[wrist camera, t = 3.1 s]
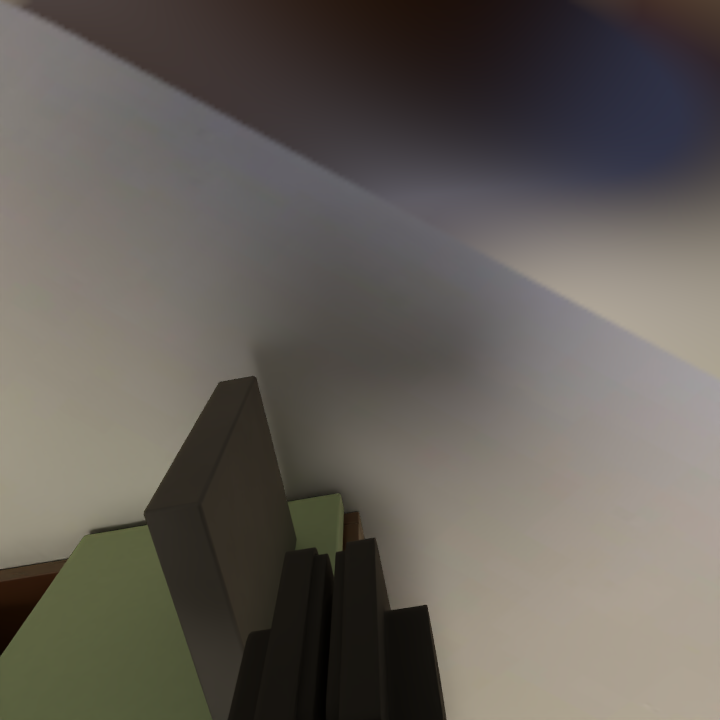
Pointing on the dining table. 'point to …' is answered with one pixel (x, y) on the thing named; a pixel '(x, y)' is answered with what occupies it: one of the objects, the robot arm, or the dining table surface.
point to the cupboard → (29, 583)
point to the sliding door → (171, 584)
